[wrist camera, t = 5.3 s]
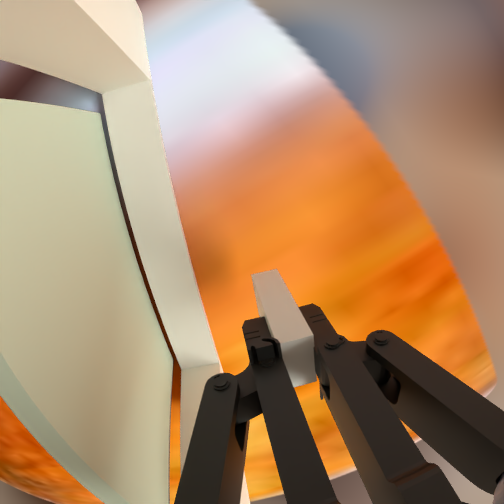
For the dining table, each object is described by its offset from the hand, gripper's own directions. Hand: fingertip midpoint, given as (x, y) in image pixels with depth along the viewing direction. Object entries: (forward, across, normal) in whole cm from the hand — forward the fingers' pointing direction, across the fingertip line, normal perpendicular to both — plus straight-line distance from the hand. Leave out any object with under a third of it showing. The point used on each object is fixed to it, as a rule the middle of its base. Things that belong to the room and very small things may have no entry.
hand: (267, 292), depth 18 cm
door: (+3, -9, +3) cm, 10 cm away
